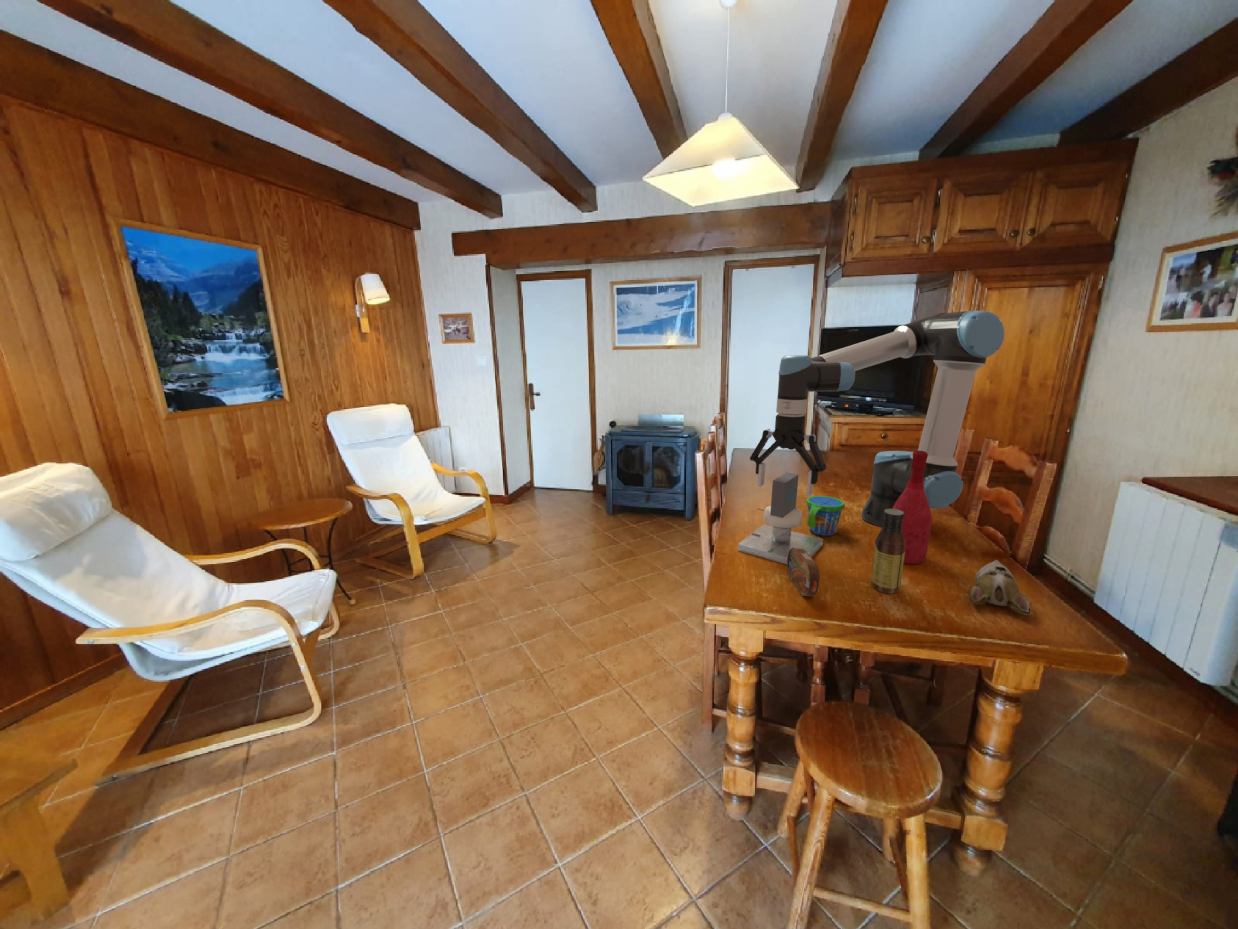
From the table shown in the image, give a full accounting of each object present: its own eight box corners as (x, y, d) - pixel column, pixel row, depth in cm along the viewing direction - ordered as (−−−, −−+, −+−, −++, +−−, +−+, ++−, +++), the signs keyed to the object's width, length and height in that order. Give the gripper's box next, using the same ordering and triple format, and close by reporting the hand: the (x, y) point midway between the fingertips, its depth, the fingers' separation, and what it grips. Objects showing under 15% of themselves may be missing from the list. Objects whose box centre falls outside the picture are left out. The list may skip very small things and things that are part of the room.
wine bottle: (890, 546, 134) (904, 445, 126) (930, 557, 127) (948, 450, 119) (878, 558, 127) (893, 451, 119) (920, 569, 120) (938, 457, 113)
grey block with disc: (806, 519, 133) (810, 476, 130) (794, 530, 126) (797, 485, 122) (764, 510, 141) (766, 469, 137) (750, 520, 133) (752, 477, 130)
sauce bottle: (883, 579, 116) (894, 504, 111) (906, 592, 110) (918, 513, 105) (863, 584, 114) (873, 508, 109) (884, 597, 108) (896, 517, 103)
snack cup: (822, 520, 153) (825, 491, 151) (852, 531, 145) (856, 500, 142) (791, 532, 145) (794, 501, 142) (822, 543, 137) (825, 511, 134)
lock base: (822, 545, 136) (825, 519, 134) (801, 568, 122) (804, 540, 120) (763, 530, 147) (764, 506, 145) (737, 550, 133) (739, 524, 131)
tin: (785, 571, 121) (787, 541, 119) (797, 571, 121) (800, 541, 119) (805, 603, 107) (809, 570, 104) (819, 603, 107) (823, 570, 104)
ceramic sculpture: (1027, 558, 107) (1039, 591, 95) (1019, 591, 109) (1030, 627, 97) (969, 549, 112) (974, 579, 100) (964, 580, 115) (967, 613, 103)
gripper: (741, 412, 129) (736, 484, 135) (836, 421, 114) (826, 502, 119) (752, 408, 135) (747, 478, 140) (844, 417, 120) (835, 495, 125)
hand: (784, 490), depth 130 cm, fingers open, 13 cm apart
